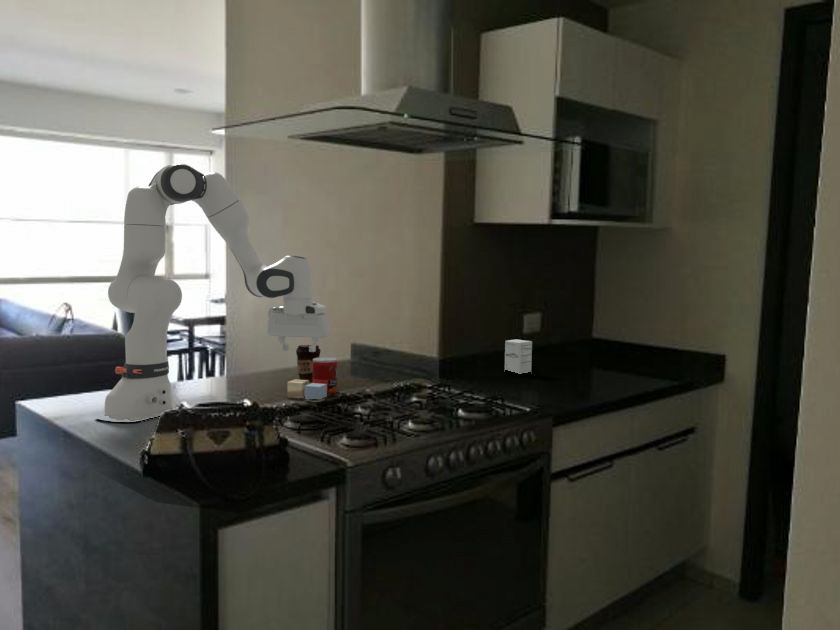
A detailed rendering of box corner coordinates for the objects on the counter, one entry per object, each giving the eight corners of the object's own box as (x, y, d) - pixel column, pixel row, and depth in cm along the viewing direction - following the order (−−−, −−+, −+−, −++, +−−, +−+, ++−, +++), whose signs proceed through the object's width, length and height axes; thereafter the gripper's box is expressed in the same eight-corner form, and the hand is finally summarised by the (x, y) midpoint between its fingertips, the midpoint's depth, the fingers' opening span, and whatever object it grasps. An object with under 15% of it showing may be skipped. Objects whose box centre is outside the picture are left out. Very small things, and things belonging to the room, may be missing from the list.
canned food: (333, 395, 240) (332, 361, 239) (309, 394, 242) (309, 360, 241) (340, 390, 247) (340, 357, 246) (317, 389, 249) (317, 356, 248)
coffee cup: (313, 385, 256) (312, 347, 255) (291, 383, 259) (291, 346, 258) (324, 381, 264) (324, 344, 263) (303, 379, 267) (303, 343, 266)
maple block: (301, 398, 234) (301, 383, 234) (287, 397, 236) (287, 382, 236) (309, 395, 239) (309, 380, 239) (295, 394, 241) (294, 379, 240)
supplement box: (503, 374, 280) (504, 340, 279) (516, 371, 285) (517, 338, 284) (519, 376, 275) (519, 342, 274) (532, 374, 280) (532, 340, 279)
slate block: (319, 403, 228) (319, 386, 228) (304, 402, 230) (304, 385, 229) (326, 400, 233) (326, 384, 232) (312, 398, 234) (311, 383, 234)
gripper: (263, 307, 235) (264, 351, 237) (322, 309, 229) (323, 353, 230) (273, 305, 241) (274, 348, 243) (331, 307, 235) (332, 350, 236)
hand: (298, 351), depth 236 cm, fingers open, 8 cm apart
